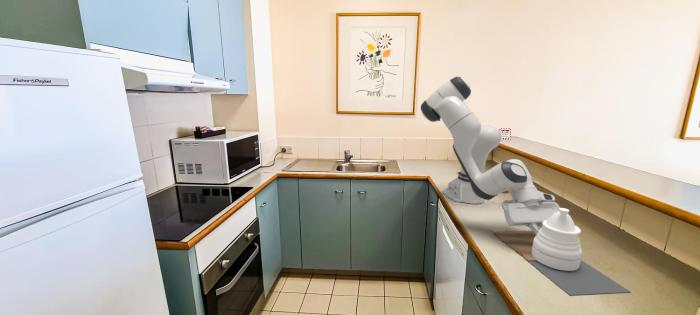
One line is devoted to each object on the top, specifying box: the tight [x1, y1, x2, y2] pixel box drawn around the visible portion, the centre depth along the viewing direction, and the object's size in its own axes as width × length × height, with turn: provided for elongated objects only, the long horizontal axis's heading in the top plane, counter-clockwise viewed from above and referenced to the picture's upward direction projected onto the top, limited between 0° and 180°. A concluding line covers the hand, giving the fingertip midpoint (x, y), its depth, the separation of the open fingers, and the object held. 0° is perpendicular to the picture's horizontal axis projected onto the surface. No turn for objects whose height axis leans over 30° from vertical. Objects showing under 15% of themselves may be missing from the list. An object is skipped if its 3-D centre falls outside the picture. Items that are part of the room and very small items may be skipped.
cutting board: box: [493, 229, 537, 263], centre depth 103 cm, size 20×18×1 cm
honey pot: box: [531, 207, 583, 271], centre depth 91 cm, size 13×13×18 cm
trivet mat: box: [528, 259, 631, 297], centre depth 85 cm, size 16×18×1 cm
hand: (542, 236), depth 98 cm, fingers closed, pressing on honey pot
